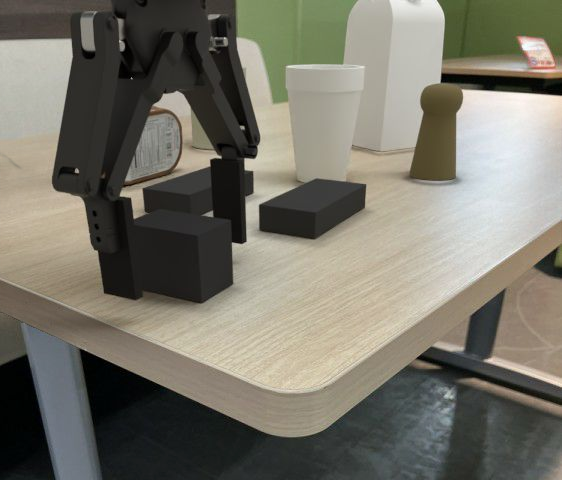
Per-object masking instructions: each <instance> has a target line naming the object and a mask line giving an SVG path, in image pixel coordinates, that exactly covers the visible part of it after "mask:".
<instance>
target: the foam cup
mask: <svg viewBox="0 0 562 480" xmlns="http://www.w3.org/2000/svg"><path fill="white" fill-rule="evenodd" d="M364 71H365V67H364V66H357V65H343V64H332V63H331V64H330V63H329V64H328V63H327V64H326V63H325V64H322V63H320V64H319V63H318V64H317V63H315V64H312V63H311V64H291V65H286V66H285V89H286V90H287V99H288V109H289V118H290V127H291V138H292V146H293V155H294V164H295V165H294V166H295V173H296V175H297V176H296V180H297V181H299V182H301V183H303V184H305V183H307V182H309V181H311V180H314V179H316V178H318V179H327V180H335V181H344V182H347V181H346V179H347V175H348V170H349V164H350V159H351V153H352V147H353V145H352V142H353V136H354V130H355V125H356V119H357V113H358V108H359V102H360V96H361V91H362V90H363V87H364Z"/></svg>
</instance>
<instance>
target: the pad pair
mask: <svg viewBox="0 0 562 480" xmlns="http://www.w3.org/2000/svg"><path fill="white" fill-rule="evenodd" d="M254 182H255V181H254V170H248V169H245V197H247V196H249V195H252V194H253V193H254V192H255V188H254V186H255V184H254ZM141 191H142V199H143V208H144V210H143V211H144V212H145V213H151V212H154V211H156V210H159V209H163V210H170V211H176V212H183V213H189V214H196V215H202V216H203V215H204V214H206V213H208V212H211V211H213V205H212V187H211V170H210V166H207V167H205V168H201V169H198V170H194V171H191V172H189V173H185V174H182V175H179V176H176V177H173V178H170V179H166V180H163V181H160V182H157V183H154V184H151V185H148V186H145V187H142V190H141ZM366 194H367V184H366V183H360V182H351V181H335V180H327V179H318V178H316V179H314V180H311V181H309V182H307V183H303V184H301V185H298V186H296V187H294V188H292V189H290V190H288V191H285V192H283V193H280V194H279V195H277V196H274V197H272V198H270V199H268V200H266V201H264V202H262V203H259V204H258V226H259V227H258V230H259V231H263V232H270V233H276V234H282V235H287V236H295V237H301V238H308V239H312V240H313V239H314V240H315V239H317V238H319V237H320V236H322V235H323V234H325V233H326V232H328V231H329V230H331V229H333V228H334V227H336V226H337V225H340V223H342V222H344V221H345V220H347V219H349V218H350V217H352V216H353V215H355V214H356V213H358V212H360V211H361V210H362V209H364V208H366V199H367V198H366V197H367V195H366Z"/></svg>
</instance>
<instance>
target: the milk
mask: <svg viewBox="0 0 562 480" xmlns="http://www.w3.org/2000/svg"><path fill="white" fill-rule="evenodd" d="M444 13H445V12H444V11H443V8H442V6H441V5H440V3H439V1H438V0H357V1H356V2H355V4H354V5H353V7H352V8H351V10H350V12H349V14H348V17H347V23H346V33H345V42H344V54H343V63H342V65H357V66H364V67H365V71H364V87H363V90H362V91H361V96H360V102H359V108H358V113H357V119H356V125H355V130H354V136H353V142H352V146H355V147H359V148H363V149H367V150H371V151H376V152H381V153H382V152H383V153H384V152H390V151H397V150H406V149H412V148H413V149H415V147H416V143H417V138H418V134H419V130H420V125H421V121H422V117H423V110H422V108H421V105H420V97H421V94H422V91H423V90H424V88H425V87H427V86H428V85H432V84H438V83H441V80H442V68H443V67H442V66H443V53H444V39H445V27H446V19H445V14H444Z"/></svg>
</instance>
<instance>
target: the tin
mask: <svg viewBox="0 0 562 480" xmlns="http://www.w3.org/2000/svg"><path fill="white" fill-rule="evenodd" d="M183 143H184V142H183V126H182V123H181V121H180V119H179V117H178V116H177V114H176V113H174V111H172V110H170V109H167V108H163V107H158V106H156V105H153V106H152V108H151V111H150V113H149V116H148V119H147V122H146V124H145V127H144V130H143V133H142V135H141V138H140V141H139V144H138V146H137V149H136V152H135V155H134V157H133V160H132V163H131V166H130V168H129V171H128V174H127V177H126V179H125V182H124V185H123V186H127V185H128V186H129V185H133V184H137V183H140V182H143V181H147V180H151V179H154V178H159V177H162V176H166V175H169V174H171V172H173V171H174V170H175V169H176V168H177V166H178V164H179V162H180V161H181V158H182V154H183ZM104 177H105V174H103V175H102V176H101V177H100V178H104Z"/></svg>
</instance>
